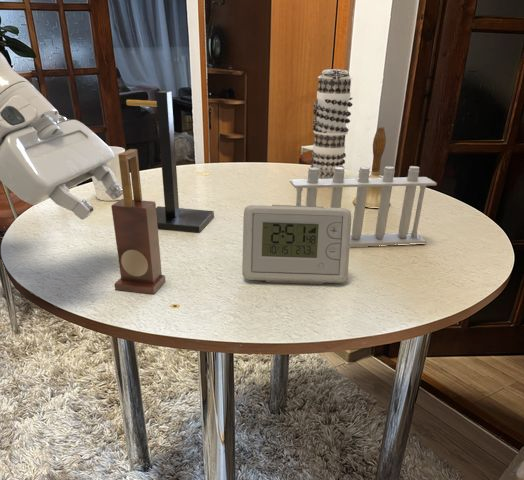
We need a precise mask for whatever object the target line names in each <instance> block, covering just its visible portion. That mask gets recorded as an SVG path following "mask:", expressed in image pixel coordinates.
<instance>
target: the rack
mask: <svg viewBox="0 0 524 480" xmlns="http://www.w3.org/2000/svg"><path fill="white" fill-rule="evenodd" d="M172 93H173V92H172V91H171V90H159V91H156V92H155V100H142V99H126V101H125V103H126V106H133V107H134V106H135V107H154V108H156V111H157V125H158V139H159V149H160V150H159V151H160V152H159V153H160V163H161V176H162V187H163V199H164V206H160V205H159V206H156V214H157V226H158V230H163V231H164V230H165V231H173V232H174V231H175V232H185V233H196V234H200V233H201V232H202V231H203V229H204V228H205V227H206V226H207V225H208V224H209V223H210V222H211V221H212V220H213V219H214V218H215V211H214V210H207V209H206V210H205V209H194V208H193V209H192V208H183V207H182V208H181V207H180V202H179V189H178V188H179V187H178V173H177V172H178V171H177V157H176V141H175V140H176V139H175V125H174V111H173V95H172Z"/></svg>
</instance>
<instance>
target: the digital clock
mask: <svg viewBox="0 0 524 480" xmlns="http://www.w3.org/2000/svg"><path fill="white" fill-rule="evenodd" d="M242 225H243V226H242V230H243V231H242V262H241V263H242V266H241V267H242V269H241V271H242V277H243V278H244V279H245V280H249V281H265V283H276V284H277V283H279V284H280V283H281V284H306V285H308V284H309V285H324V283H333V284H335V283H336V284H339V283H340V284H341V283H344V282H346V281H347V279H348V276H349V261H350V235H351V234H352V212H351V210H350V209H349V208H346V207H341V208H331V207H325V206H323V205H322V206H321V205H320V206H319V205H316V206H306V205H301V206H296V205H290V204H289V205H288V204H272V205H261V204H252V205H251V204H249V205H247V206H245V208H244V210H243V223H242Z"/></svg>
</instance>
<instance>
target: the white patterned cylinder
mask: <svg viewBox="0 0 524 480" xmlns="http://www.w3.org/2000/svg"><path fill="white" fill-rule="evenodd" d="M317 78H318V84H317V91H316V101H314V102H313V108H314V109H313V110H312V111H313V112H312V114H313V115H314V116H315V117H314V118H313V119H312V123H313V125H312V130H313V132H312V133H314V139H313V140H314V142H313V145H312V151H311V153H310V155H311V157H312V158H310V162H311V163H312V164H311V165H310V167H309V168H318V169H319V170H318V172H319V173H318V179H333V177H334V171H335V167H342V168H344V169H345V167H344V165H345V164H346V160H345V159H344V158H346V157H347V155H346V152H345V151H346V145H345V143H346V136H347V135H348V132H349V128H348V127H347V125H348V124H349V123H351V120H350V118H349V117H350V116H351V115H352V113H351V111H349V110H348V109H349V108H351V107H352V106H353V105H354V104H353V103H352V102H351V101H352V100H353V97H351V94H352V93H351V86H352V80H353V77H351V76H350V73H349V71H348V70H346V69H333V68H332V69H324V70H323V71H322V72H321V73H320V75H319V76H317Z"/></svg>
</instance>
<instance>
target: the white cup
mask: <svg viewBox="0 0 524 480" xmlns="http://www.w3.org/2000/svg"><path fill="white" fill-rule="evenodd" d="M108 146H109V147H110V148H111V150H112V151H113V154H114V156H115V158H114V160H113V161H112V162H111V164H110V165H109V166H108V167H109V168H110V169H111V170H112V172H113V175H114V177H115V179H116V182H117V183H118V184H119V185H120V186H121V187H122V181H121V173H120V165H119V156H118V154H121V153H123V152H125V151H126V149H125V148H124V147H120V146H114V145H113V146H110V145H108ZM91 180H92V185H93V186H94V192H95V196H96V199H97V200H100V201H106V202H115V201H119V200H121V199H124V198H123V194H122V195H121V196H120V197H119V198H117V199H115V200H113V199H112V198H111V197H110V196H109V195H108V194H107V193H106V190H107V189H106V188H105V186H104V184H103V183H102V181H98V180H97V179H96V178H95V177H94V176H93V177H91Z"/></svg>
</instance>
